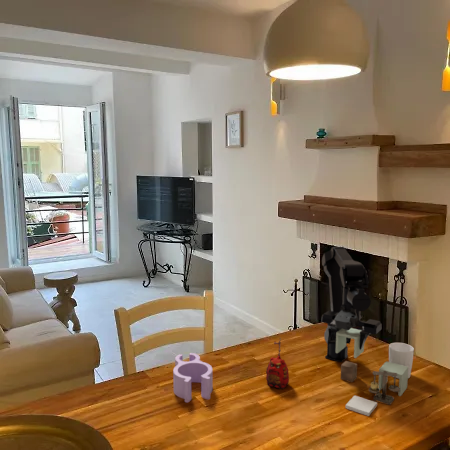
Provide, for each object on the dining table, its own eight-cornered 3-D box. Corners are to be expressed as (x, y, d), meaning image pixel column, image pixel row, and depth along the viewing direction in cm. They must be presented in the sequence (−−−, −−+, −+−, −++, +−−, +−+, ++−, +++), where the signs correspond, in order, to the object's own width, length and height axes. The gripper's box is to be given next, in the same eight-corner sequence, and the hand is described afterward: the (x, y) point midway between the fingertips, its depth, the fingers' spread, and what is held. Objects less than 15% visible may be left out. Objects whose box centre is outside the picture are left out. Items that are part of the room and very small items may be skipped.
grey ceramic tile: (345, 408, 134) (345, 405, 134) (354, 398, 140) (354, 395, 139) (368, 416, 130) (368, 412, 130) (377, 405, 135) (377, 402, 135)
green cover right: (378, 389, 145) (379, 368, 144) (385, 381, 151) (386, 361, 150) (400, 396, 141) (401, 375, 140) (407, 387, 146) (408, 366, 145)
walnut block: (340, 379, 152) (341, 365, 152) (345, 374, 155) (345, 360, 155) (352, 382, 150) (352, 368, 149) (356, 377, 153) (357, 363, 152)
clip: (167, 374, 156) (167, 355, 155) (203, 370, 159) (203, 351, 158) (177, 404, 137) (177, 382, 136) (217, 398, 140) (217, 377, 139)
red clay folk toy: (262, 386, 147) (263, 342, 145) (270, 377, 153) (271, 335, 151) (285, 391, 144) (285, 346, 142) (292, 382, 150) (293, 339, 148)
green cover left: (335, 352, 150) (336, 332, 149) (343, 346, 156) (344, 326, 155) (355, 358, 146) (356, 337, 145) (363, 351, 152) (364, 331, 151)
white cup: (408, 370, 159) (409, 342, 157) (415, 380, 151) (417, 352, 149) (385, 369, 159) (386, 342, 158) (390, 379, 152) (392, 351, 150)
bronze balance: (366, 397, 140) (368, 368, 139) (370, 393, 143) (372, 364, 142) (397, 407, 135) (398, 376, 133) (400, 402, 137) (402, 372, 136)
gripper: (314, 302, 148) (313, 347, 150) (371, 313, 137) (369, 362, 139) (329, 294, 157) (327, 337, 159) (383, 304, 146) (381, 350, 148)
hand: (349, 346), depth 151 cm, fingers closed on green cover left, 7 cm apart
